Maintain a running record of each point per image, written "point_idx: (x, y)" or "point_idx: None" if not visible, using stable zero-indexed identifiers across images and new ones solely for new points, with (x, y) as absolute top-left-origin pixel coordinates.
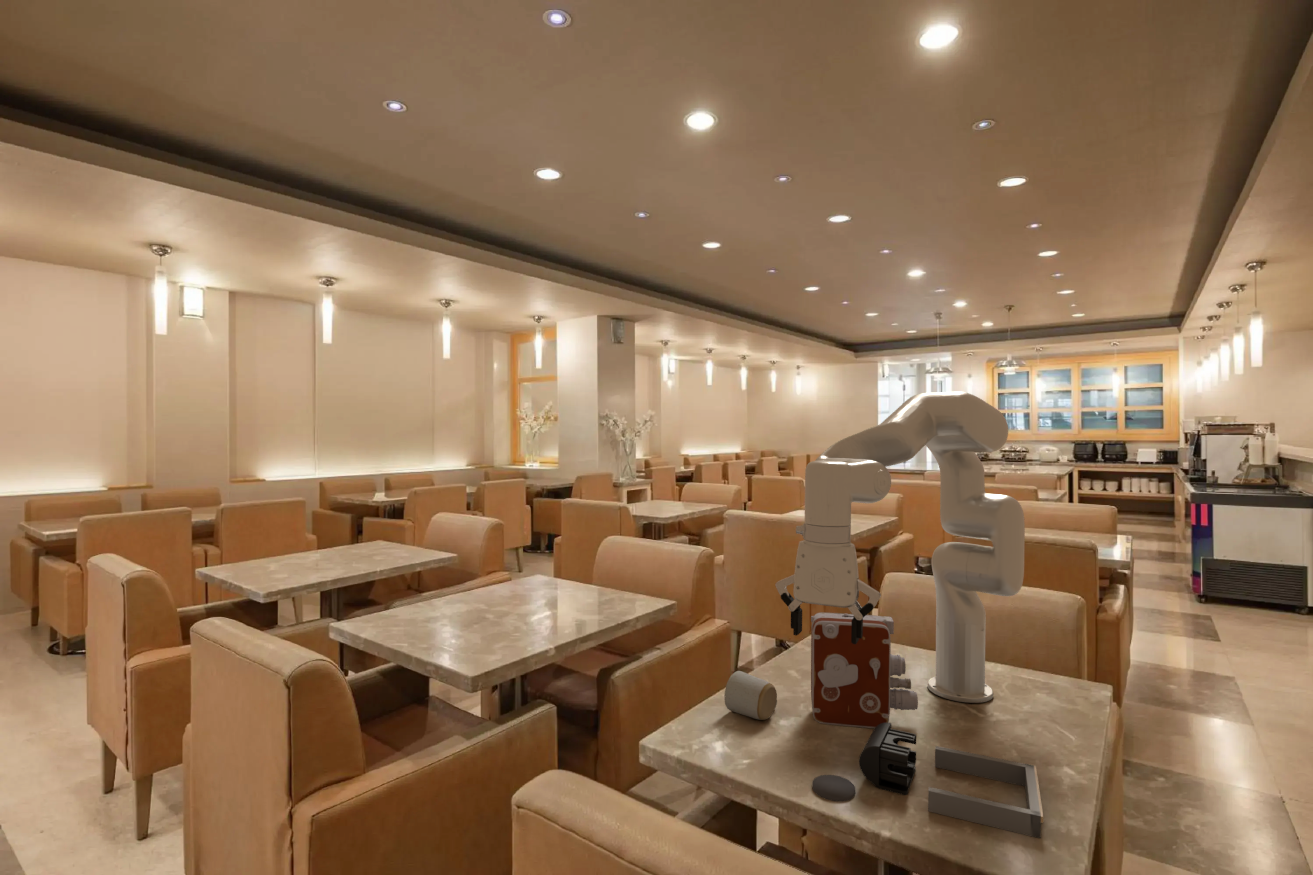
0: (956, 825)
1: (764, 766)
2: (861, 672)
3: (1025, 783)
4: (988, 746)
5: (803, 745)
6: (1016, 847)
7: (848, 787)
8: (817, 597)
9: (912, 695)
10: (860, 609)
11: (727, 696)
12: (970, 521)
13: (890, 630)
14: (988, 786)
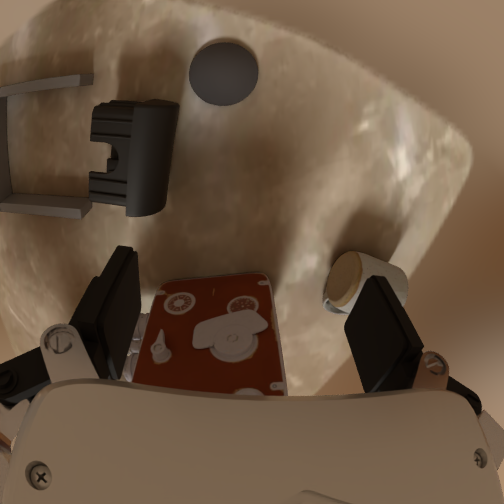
0: (65, 59)
1: (336, 114)
2: (187, 339)
3: (7, 189)
4: (54, 272)
5: (279, 198)
6: (19, 54)
7: (199, 76)
8: (347, 441)
9: None
10: (51, 382)
11: (401, 271)
12: None
13: None
14: (37, 174)
